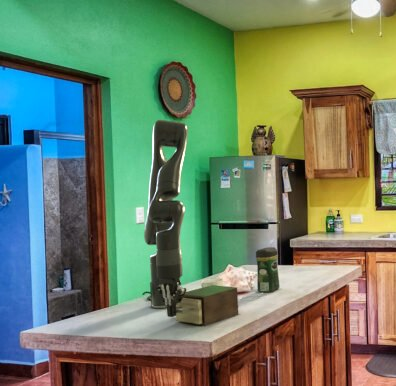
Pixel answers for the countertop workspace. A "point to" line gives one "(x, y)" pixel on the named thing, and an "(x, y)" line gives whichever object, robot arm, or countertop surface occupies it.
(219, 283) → the white cup
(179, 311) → the drawer
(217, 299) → the cabinet
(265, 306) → the countertop surface
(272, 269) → the coffee jar
